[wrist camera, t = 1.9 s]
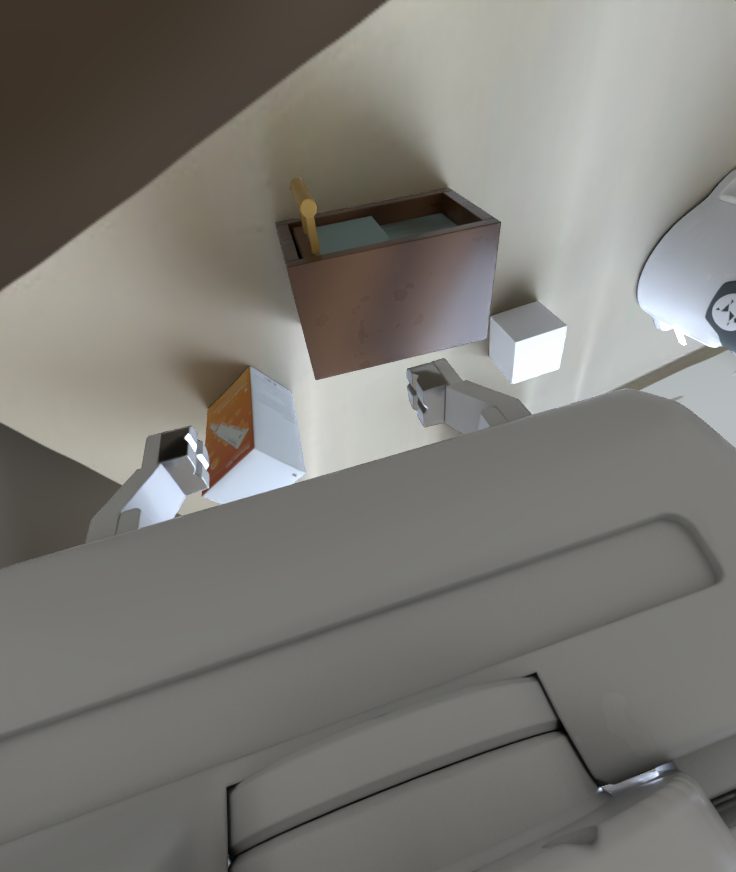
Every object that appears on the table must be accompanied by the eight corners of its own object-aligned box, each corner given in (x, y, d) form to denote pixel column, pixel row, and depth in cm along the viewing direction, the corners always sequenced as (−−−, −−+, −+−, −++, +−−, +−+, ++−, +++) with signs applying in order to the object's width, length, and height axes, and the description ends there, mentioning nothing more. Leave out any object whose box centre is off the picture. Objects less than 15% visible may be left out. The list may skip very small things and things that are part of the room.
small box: (249, 363, 43) (254, 447, 34) (293, 391, 47) (308, 473, 38) (205, 409, 46) (199, 498, 37) (250, 432, 50) (255, 517, 41)
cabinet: (449, 187, 36) (501, 221, 29) (445, 291, 43) (486, 339, 36) (274, 222, 34) (286, 267, 28) (301, 324, 42) (315, 380, 35)
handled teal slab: (366, 160, 32) (392, 182, 27) (371, 220, 35) (396, 250, 30) (280, 176, 31) (290, 202, 26) (294, 236, 34) (305, 270, 29)
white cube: (532, 342, 51) (559, 369, 47) (488, 356, 51) (511, 384, 47) (537, 300, 47) (567, 325, 43) (490, 315, 47) (515, 342, 43)
